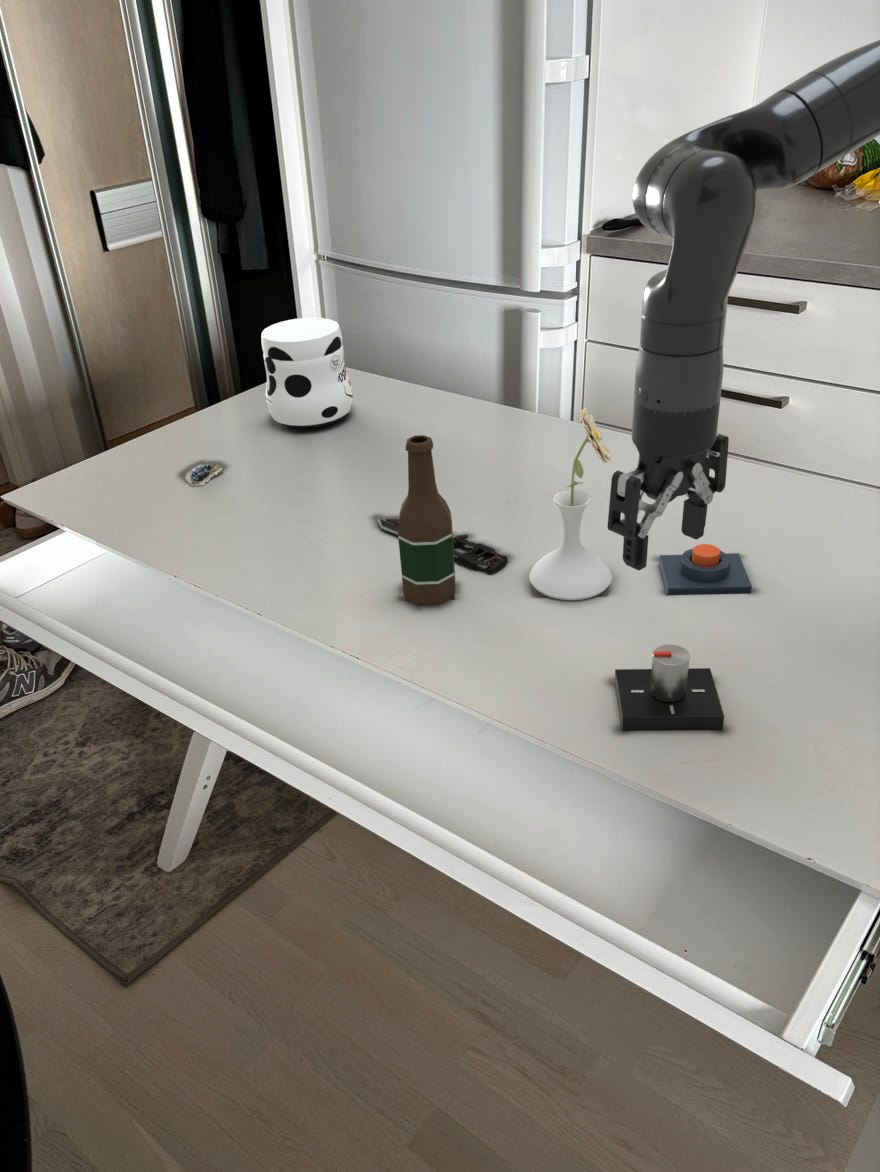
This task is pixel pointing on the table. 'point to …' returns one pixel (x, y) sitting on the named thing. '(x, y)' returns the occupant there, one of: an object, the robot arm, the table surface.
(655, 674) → the hob knob
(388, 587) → the table surface
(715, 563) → the button
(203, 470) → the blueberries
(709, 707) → the hob panel
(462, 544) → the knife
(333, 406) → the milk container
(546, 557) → the flower in vase
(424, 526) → the beer bottle
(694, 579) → the button block
